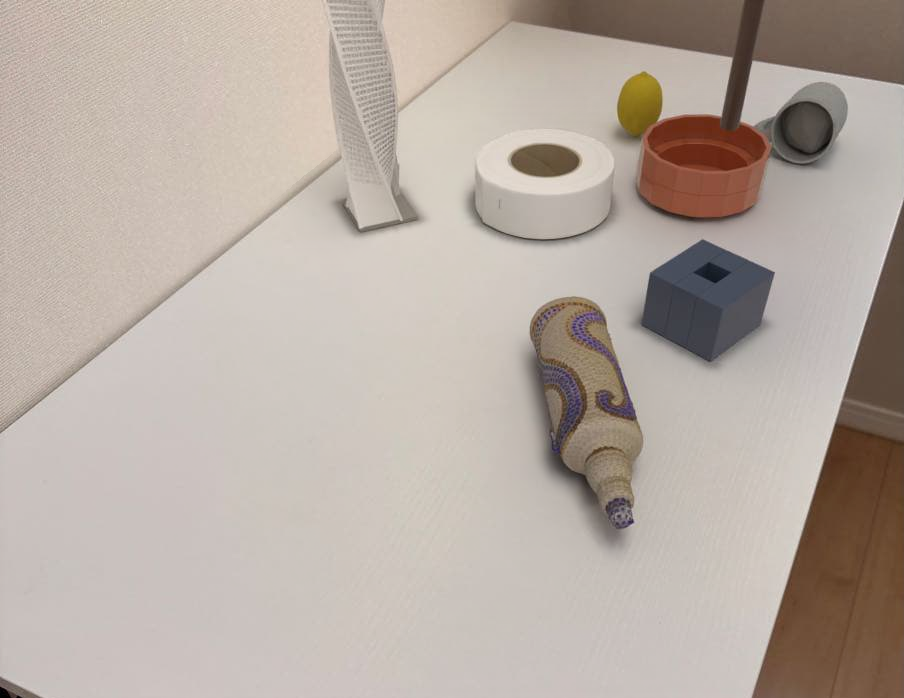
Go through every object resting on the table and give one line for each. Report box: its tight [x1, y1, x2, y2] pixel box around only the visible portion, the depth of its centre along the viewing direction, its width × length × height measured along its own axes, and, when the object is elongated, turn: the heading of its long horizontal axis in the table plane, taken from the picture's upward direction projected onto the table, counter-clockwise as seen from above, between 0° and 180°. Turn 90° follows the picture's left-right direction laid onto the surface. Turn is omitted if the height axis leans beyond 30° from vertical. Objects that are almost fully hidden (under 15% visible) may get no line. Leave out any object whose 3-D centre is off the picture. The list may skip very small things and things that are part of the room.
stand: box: [641, 238, 776, 363], centre depth 91 cm, size 8×8×6 cm
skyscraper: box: [321, 0, 419, 233], centre depth 98 cm, size 8×8×28 cm
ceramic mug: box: [752, 81, 849, 165], centre depth 115 cm, size 11×8×8 cm
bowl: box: [635, 113, 773, 219], centre depth 109 cm, size 14×14×6 cm
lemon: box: [616, 70, 664, 138], centre depth 117 cm, size 6×6×8 cm
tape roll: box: [474, 128, 616, 240], centre depth 107 cm, size 16×16×6 cm
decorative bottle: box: [529, 295, 644, 530], centre depth 80 cm, size 26×8×7 cm, turn 5°
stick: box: [720, 0, 766, 131], centre depth 83 cm, size 2×2×20 cm
